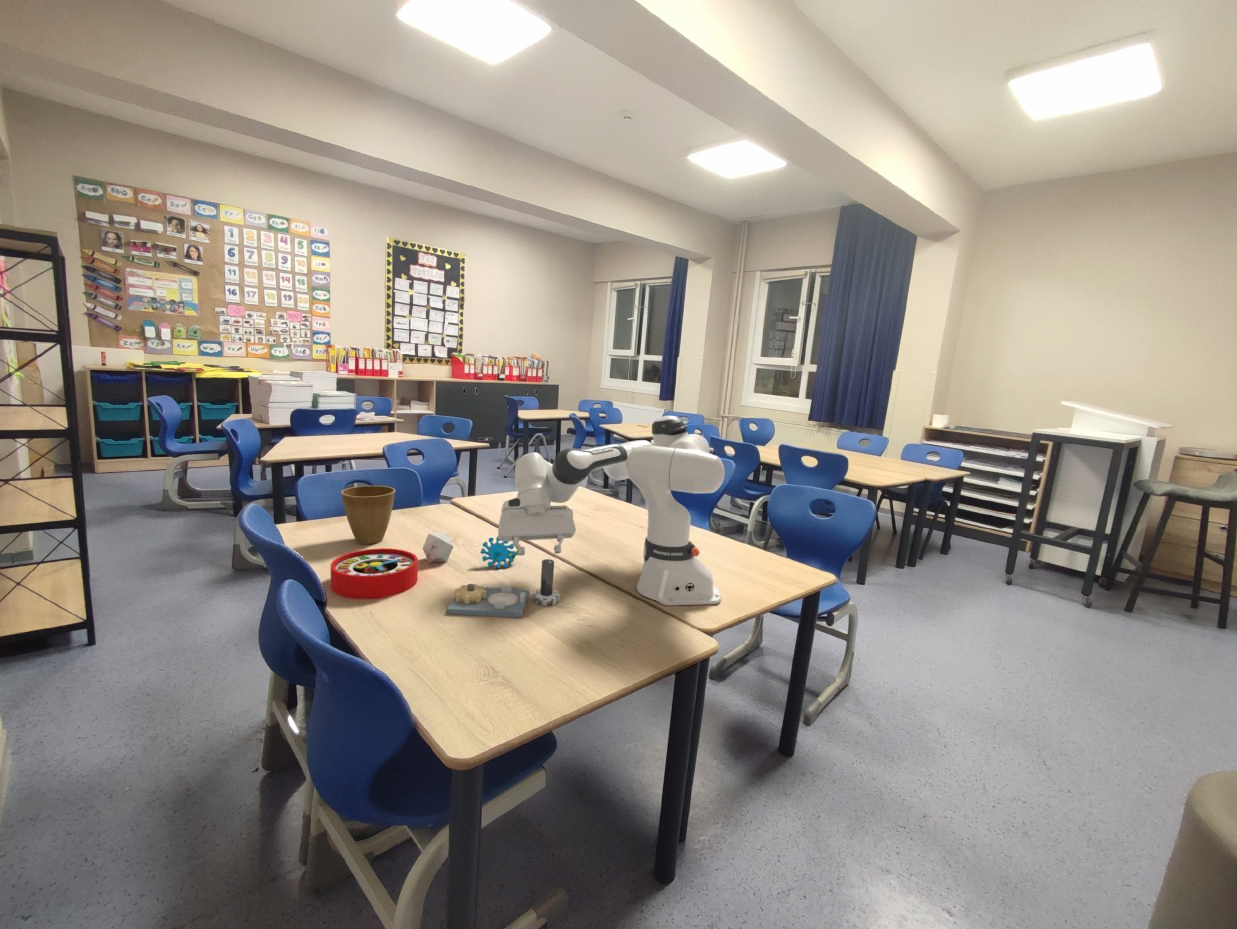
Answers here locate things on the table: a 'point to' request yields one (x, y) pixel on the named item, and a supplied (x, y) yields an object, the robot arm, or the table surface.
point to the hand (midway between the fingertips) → (540, 553)
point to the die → (437, 547)
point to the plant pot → (368, 511)
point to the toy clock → (374, 573)
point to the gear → (546, 586)
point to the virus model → (498, 553)
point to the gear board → (489, 601)
